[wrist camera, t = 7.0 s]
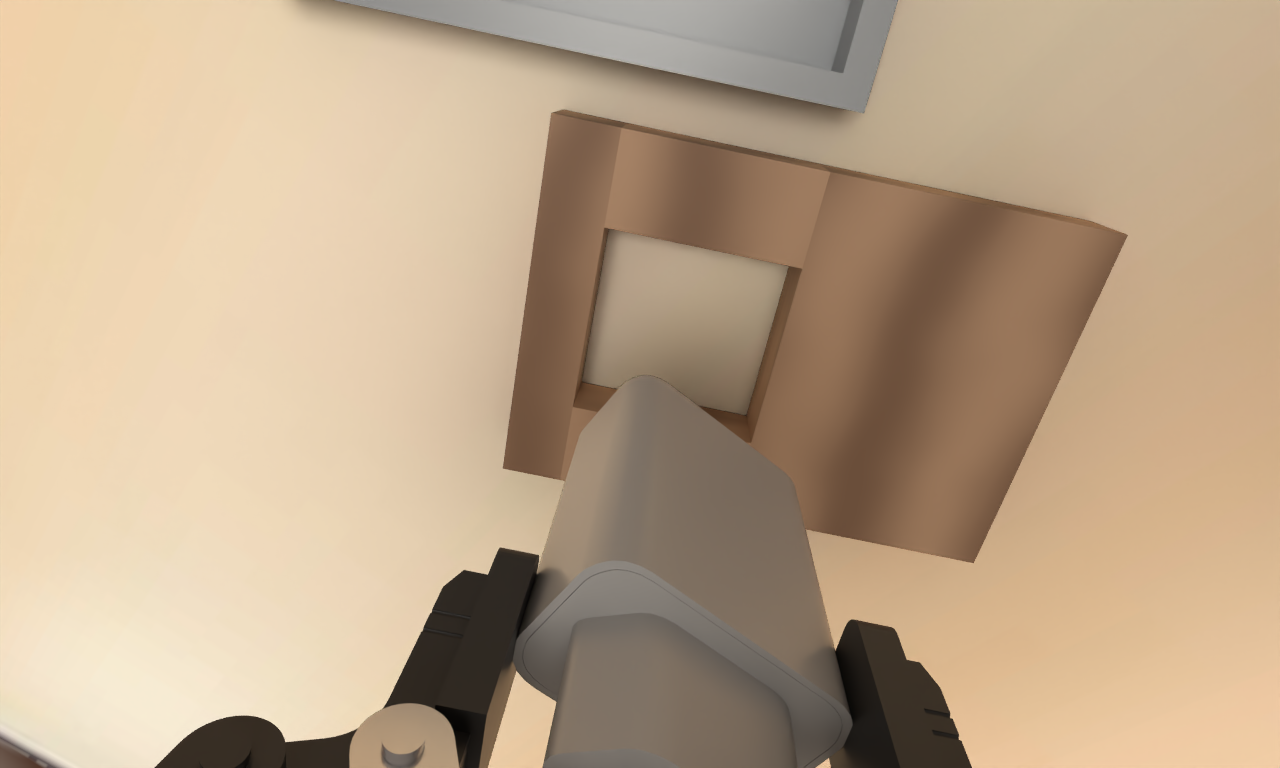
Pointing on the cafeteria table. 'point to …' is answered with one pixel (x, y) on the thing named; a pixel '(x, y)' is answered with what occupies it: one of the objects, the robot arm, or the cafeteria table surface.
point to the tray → (698, 37)
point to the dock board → (825, 322)
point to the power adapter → (679, 601)
